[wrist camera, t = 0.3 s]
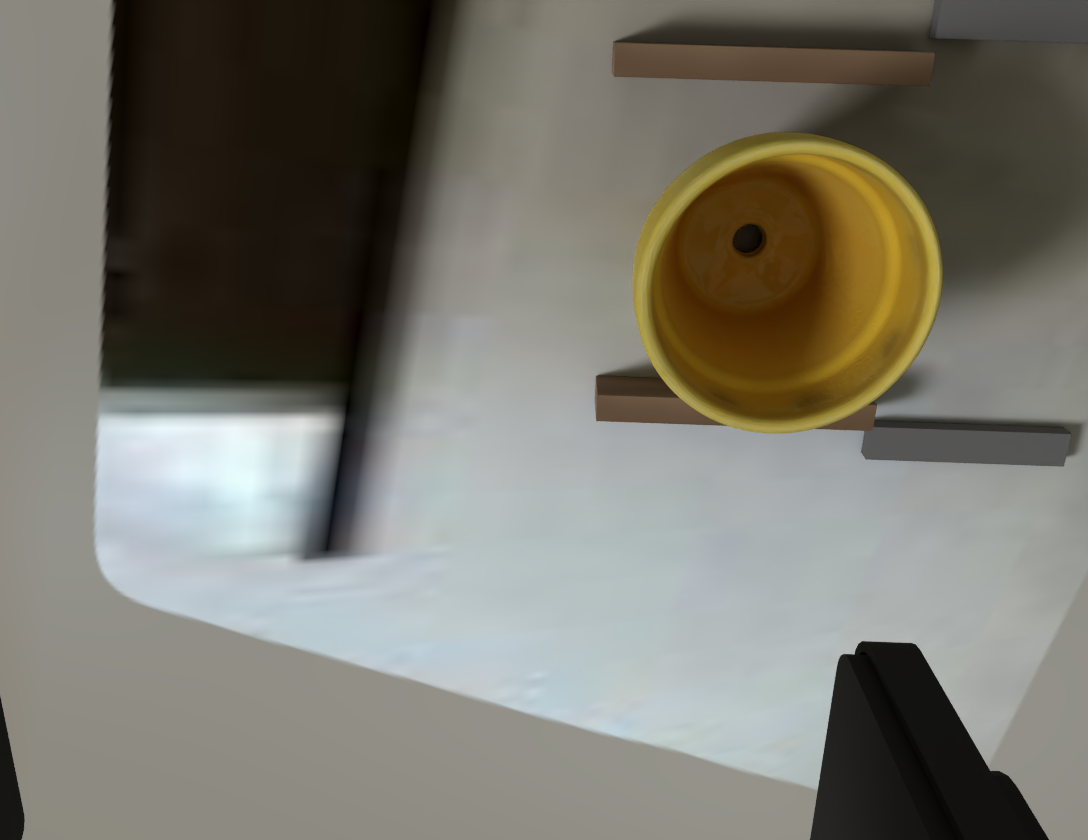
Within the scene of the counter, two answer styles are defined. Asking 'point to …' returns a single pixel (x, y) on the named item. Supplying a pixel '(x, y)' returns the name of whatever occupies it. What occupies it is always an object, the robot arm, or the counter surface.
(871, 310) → the plant pot
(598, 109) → the counter surface
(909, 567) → the counter surface
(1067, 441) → the rubber strips
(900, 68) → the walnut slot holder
